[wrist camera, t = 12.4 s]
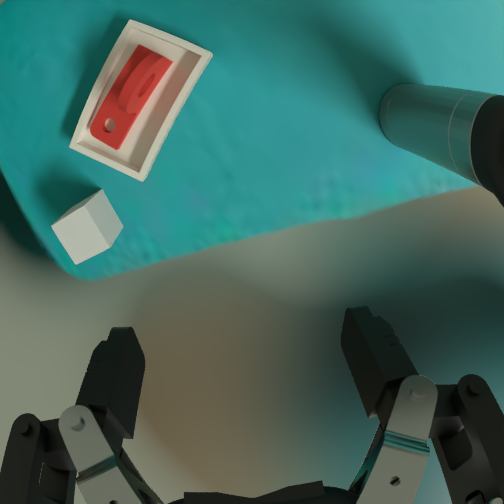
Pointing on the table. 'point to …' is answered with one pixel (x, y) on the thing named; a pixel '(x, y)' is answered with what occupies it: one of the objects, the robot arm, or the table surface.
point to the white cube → (88, 227)
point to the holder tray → (155, 109)
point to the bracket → (129, 95)
